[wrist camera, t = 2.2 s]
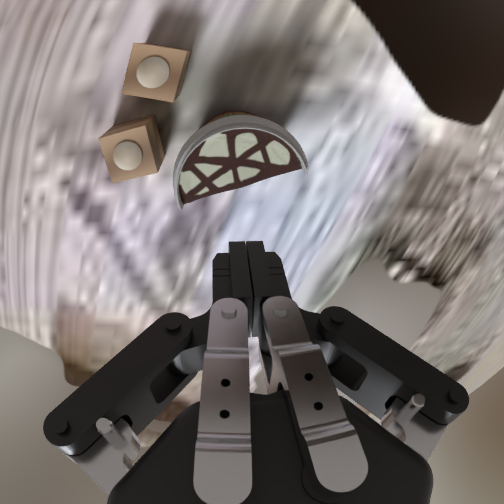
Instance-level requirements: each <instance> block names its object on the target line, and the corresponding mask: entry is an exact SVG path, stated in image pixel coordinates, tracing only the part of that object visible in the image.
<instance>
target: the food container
mask: <svg viewBox="0 0 504 504" xmlns="http://www.w3.org/2000/svg"><path fill="white" fill-rule="evenodd" d="M299 169H303V170H304V171H305V172H306V173H307V170H309V169H308V162H307V159H306V156H305V154H304V152H303V150H302V148H301V146H300V144H299V143H298V142H297V140H296V139H295V138H294V137H293V136H292V135H291V134H290V133H289V132H288V131H287V130H286V129H284V128H283V127H281V126H280V125H278V124H277V123H274V122H272V121H270V120H267V119H265V118H261V117H257V116H256V115H254V114H251V113H247V112H243V111H229V112H224V113H221V114H219V115H217V116H215V117H213V118H212V119H210V120H209V121H208V122H207V123H206V124H205V125H204V126H203V127H202V128H200V129H199V130H198V131H197V132H195V133H194V134H193V135H192V136H191V137H190V138H189V139H188V140H187V142H186V143H185V144H184V145H183V147H182V149H181V151H180V152H179V154H178V157H177V159H176V162H175V166H174V171H173V187H174V193H175V199H176V202H177V205H178V208H180V210H181V211H182V208H183V206H184V204H186V203H190V202H193V201H195V200H197V199H200V198H203V197H207V196H210V195H213V194H217V193H221V192H225V191H229V190H233V189H237V188H241V187H244V186H247V185H250V184H253V183H256V182H258V181H261V180H264V179H267V178H270V177H273V176H277V175H280V174H284V173H288V172H291V171H295V170H299Z"/></svg>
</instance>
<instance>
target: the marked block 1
mask: <svg viewBox="0 0 504 504" xmlns="http://www.w3.org/2000/svg"><path fill="white" fill-rule="evenodd" d="M191 52H192V51H189V50H184V49H178V48H173V47H167V46H161V45H154V44H147V43H133V47H132V51H131V55H130V59H129V63H128V67H127V72H126V76H125V81H124V85H123V90H122V94H125V95H132V96H138V97H145V98H150V99H156V100H162V101H167V102H172V103H173V102H174V101H175V100H176V99H177V97H178V96H179V95H180V91H181V87H182V83H183V80H184V76H185V73H186V69H187V65H188V62H189V59H190V55H191Z"/></svg>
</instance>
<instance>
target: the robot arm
mask: <svg viewBox="0 0 504 504" xmlns="http://www.w3.org/2000/svg"><path fill="white" fill-rule="evenodd" d="M251 331H252V337H258V339H259V357H260V361H261V365H262V369H263V374H264V378H265V382H266V387H267V394H268V395H262V394H255V393H250V381H249V351H248V337H250V334H251ZM200 370H203V373H202V384H201V397H200V401H199V402H197V403H195V404H193V405H191V406H189V407H188V408H186V409H185V410H184V411H183V412H181V413H180V414H179V415H178V417H177V418H176V419H175V420H174V421H173V422H172V423H171V425H170V426H169V427H168V428H167V429H166V430H165V431H164V432H163V434H162V435H161V436H160V437H159V438H158V439H157V440H156V441H155V443H154V444H153V445H152V446H151V447H150V448H149V449H148V450H147V451H146V453H145V454H144V455H143V456H142V457H141V458H140V459H139V460H138V462H136V463H135V465H134V466H133V467H132V464H133V461H134V459H135V458H136V456H137V455H138V453H139V450H140V441H139V439H138V437H137V436H138V435H139V434H140V433H141V432H142V431H143V430H144V429H145V428H146V426H147V425H149V424H150V422H151V421H152V420H153V419H154V418H155V417H156V416H157V415H158V414H159V413H160V412H161V411H162V410H163V409H164V408H165V407H166V406H167V405H168V404H169V403H170V402H171V401H172V400H173V399H174V398H175V397H176V396H177V395H178V394H179V393H180V392H181V391H182V390H183V389H184V387H185V386H186V385H187V384H188V383H189V382H190V381H191V380H192V379H193V378H194V377H195V376H196V375H197V373H198V371H200ZM336 388H338V389H339V390H340V391H342V392H343V393H344V394H346V395H347V396H349V397H350V398H351V399H353V400H354V401H355V402H357V403H358V404H359V405H361V406H362V407H364V408H365V409H366V410H368V411H369V412H371V413H372V414H373V415H375V416H376V417H378V418H379V419H380V420H381V425H382V426H381V425H380V424H378V423H377V422H376V421H374V420H373V419H372V418H370V417H369V416H368V415H366V414H365V413H364V412H363V411H361V410H360V409H359V408H357V407H356V406H355V405H354V404H352V403H351V402H349V401H348V400H347V399H345V398H343V397H342V396H339V395H338V392H337V390H336ZM468 404H469V396H468V393H467V391H466V389H465V388H464V387H463V386H462V385H461V384H459V383H458V382H456V381H455V380H453V379H451V378H450V377H448V376H447V375H445V374H444V373H442V372H441V371H439V370H438V369H436V368H435V367H433V366H432V365H430V364H429V363H427V362H426V361H424V360H423V359H421V358H420V357H418V356H417V355H415V354H413V353H412V352H410V351H409V350H407V349H406V348H404V347H403V346H401V345H400V344H398V343H397V342H395V341H394V340H392V339H391V338H389V337H388V336H386V335H384V334H383V333H381V332H380V331H378V330H377V329H375V328H374V327H372V326H371V325H369V324H368V323H366V322H365V321H363V320H362V319H360V318H358V317H357V316H355V315H354V314H352V313H351V312H349V311H348V310H346V309H344V308H342V307H336V306H332V307H328V308H325V309H324V310H323V311H322V312H321V314H319V313H313V312H308V311H305V310H303V309H301V308H299V307H298V305H297V304H296V302H295V301H293V300H292V298H291V294H290V291H289V287H288V283H287V279H286V276H285V272H284V268H283V264H282V261H281V258H280V257H279V256H278V255H277V254H276V253H275V252H265V249H264V244H263V241H246V245H245V241H240V242H229V253H217V255H216V256H215V258H214V259H213V303H212V306H211V308H210V309H209V310H208V311H207V312H206V313H205V314H203V315H201V316H198V317H195V318H191V319H189V318H188V317H187V316H186V315H184V314H182V313H177V312H173V313H167V314H165V315H163V316H161V317H160V318H159V319H157V320H156V321H155V322H154V323H153V324H152V325H150V326H149V327H148V328H147V329H146V330H145V331H143V332H142V333H141V334H140V335H139V336H138V337H137V338H135V339H134V340H133V341H132V342H131V343H130V344H128V345H127V346H126V347H125V348H124V349H123V350H121V351H120V352H119V353H118V354H117V355H116V356H115V357H113V358H112V359H111V360H110V361H109V362H108V363H106V364H105V365H104V366H103V367H102V368H101V369H100V370H98V371H97V372H96V373H95V374H94V375H93V376H92V377H90V378H89V379H88V380H87V381H86V382H85V383H83V384H82V385H81V386H80V387H79V388H78V389H77V390H76V391H74V392H73V393H72V394H71V395H70V396H69V397H68V398H66V399H65V400H64V401H63V402H62V403H61V404H60V405H58V406H57V407H56V408H55V409H54V410H53V411H52V412H50V413H49V414H48V416H47V417H46V419H45V421H44V425H43V430H44V434H45V436H46V438H47V439H48V441H49V442H50V443H51V444H53V445H54V446H55V447H57V448H58V450H59V451H60V452H61V453H63V454H64V455H65V456H67V457H68V458H70V459H71V460H72V461H74V462H75V463H77V464H78V466H79V467H80V468H81V469H82V470H83V471H84V472H85V473H86V474H87V475H88V476H89V477H90V478H91V479H92V480H93V481H94V482H95V483H96V484H97V485H98V486H99V487H100V488H101V489H102V490H103V491H104V492H105V493H106V494H107V495H108V496H109V497H108V501H107V504H429V503H430V497H431V493H432V488H433V474H432V470H431V468H430V466H429V464H428V462H427V460H428V458H429V457H430V455H431V454H432V452H433V450H434V448H435V447H436V445H437V443H438V442H439V440H440V438H441V436H442V434H443V432H444V431H445V429H446V427H447V426H448V425H449V424H450V423H451V422H453V421H454V420H455V419H456V418H457V417H458V416H459V415H460V414H462V413H463V412H464V411H465V410H466V408H467V406H468Z"/></svg>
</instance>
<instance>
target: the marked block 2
mask: <svg viewBox="0 0 504 504" xmlns="http://www.w3.org/2000/svg"><path fill="white" fill-rule="evenodd" d="M99 143H100V146H101V149H102V152H103V155H104V159H105V162H106V165H107V168H108V171H109V174H110V177H111V180H112V183H116V182H120V181H124V180H128V179H132V178H137V177H141V176H145V175H149V174H154V173H158V171H159V169H160V166H161V164H162V162H163V160H164V157H165V154H164V150H163V146H162V142H161V138H160V134H159V130H158V126H157V122H156V117H155V115H152V116H148V117H144V118H140V119H136V120H133V121H129V122H126V123H122V124H119V125H115V126H113V127H111V128H110V129H109V130H108V131H107V132H106V133H104V134H103V135H102V136H101V137H100V138H99Z"/></svg>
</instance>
